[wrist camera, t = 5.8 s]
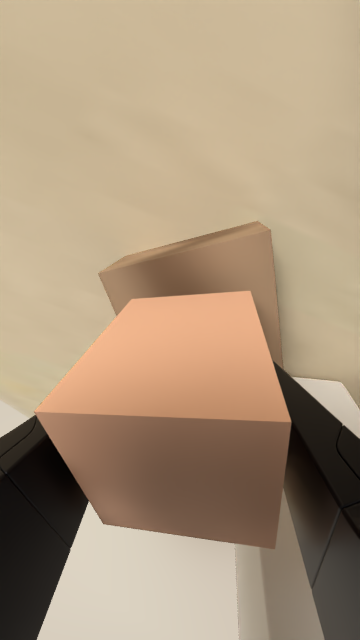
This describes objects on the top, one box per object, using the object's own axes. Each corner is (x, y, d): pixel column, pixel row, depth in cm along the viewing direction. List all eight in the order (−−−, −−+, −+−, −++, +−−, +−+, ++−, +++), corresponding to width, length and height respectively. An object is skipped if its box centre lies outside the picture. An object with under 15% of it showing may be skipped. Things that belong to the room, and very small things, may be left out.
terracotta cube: (250, 290, 9) (291, 421, 4) (249, 385, 11) (275, 549, 6) (131, 299, 10) (34, 411, 5) (153, 384, 12) (103, 524, 7)
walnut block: (256, 220, 12) (270, 230, 9) (270, 340, 16) (284, 381, 12) (127, 255, 15) (98, 273, 11) (163, 354, 18) (150, 392, 14)
